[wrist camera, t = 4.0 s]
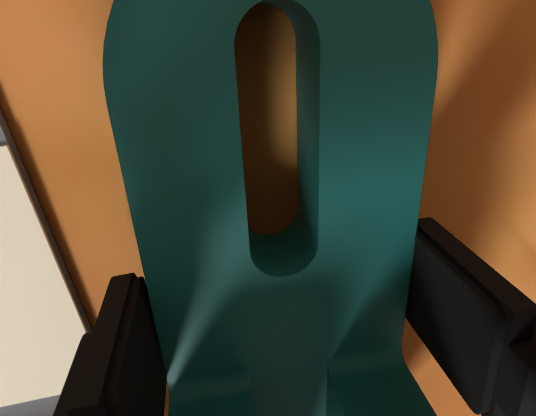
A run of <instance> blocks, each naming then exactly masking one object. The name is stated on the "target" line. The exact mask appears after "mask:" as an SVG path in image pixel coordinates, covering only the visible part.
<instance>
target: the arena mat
mask: <svg viewBox="0 0 536 416" xmlns="http://www.w3.org/2000/svg"><path fill="white" fill-rule="evenodd" d="M87 332H92V329H91V326H90V324H89V322H88V319H87V317H86V314H85V312H84V310H83V307H82V305H81V302H80V300H79V297H78V295H77V293H76V290H75V288H74V285H73V283H72V281H71V278H70V276H69V273H68V271H67V268H66V266H65V264H64V261H63V259H62V256H61V254H60V252H59V249H58V247H57V244H56V242H55V239H54V237H53V235H52V232H51V230H50V227H49V225H48V223H47V220H46V218H45V215H44V213H43V210H42V208H41V206H40V203H39V201H38V198H37V196H36V194H35V191H34V189H33V186H32V184H31V182H30V179H29V177H28V174H27V172H26V169H25V167H24V165H23V162H22V160H21V157H20V155H19V153H18V150H17V148H16V145H15V143H14V140H13V138H12V136H11V133H10V131H9V128H8V126H7V124H6V121H5V119H4V116H3V114H2V111H1V109H0V416H53V414H54V411H55V408H56V405H57V403H58V400H59V397H60V394H61V392H62V389H63V386H64V384H65V381H66V378H67V375H68V373H69V370H70V367H71V364H72V362H73V359H74V356H75V354H76V351H77V348H78V345H79V343H80V340H81V338H82V336H83V335H84V334H85V333H87Z"/></svg>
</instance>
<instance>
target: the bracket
mask: <svg viewBox="0 0 536 416" xmlns="http://www.w3.org/2000/svg"><path fill="white" fill-rule="evenodd" d="M258 3H264V4H270V5H273V6H275V7H277V8H279V9H280V10H281V11H283V12H284V13H285V14H286V16H287V17H288V18H289V20H290V21H291V23H292V25H293V28H294V32H295V38H296V97H297V166H298V212H297V216H296V218H295V220H294V221H293V223H292V224H291V225H290V226H289V227H288V228H287V229H286V230H284V231H282V232H280V233H278V234H274V235H261V234H257V233H255V232H253V231H251V230H250V229H249V228H248V221H247V208H246V195H245V183H244V170H243V157H242V144H241V131H240V118H239V105H238V92H237V79H236V66H235V53H234V39H235V34H236V30H237V27H238V25H239V23H240V21H241V19H242V18H243V16H244V15H245V13H246V12H247V11H248V10H249V9H250V8H251V7H253V6H254V5H255V4H258ZM437 69H438V41H437V32H436V24H435V20H434V15H433V10H432V6H431V3H430V0H114V1H113V5H112V8H111V12H110V15H109V19H108V22H107V28H106V34H105V40H104V49H103V81H104V90H105V96H106V102H107V107H108V112H109V117H110V121H111V126H112V130H113V135H114V139H115V144H116V148H117V153H118V158H119V162H120V167H121V171H122V176H123V180H124V185H125V189H126V194H127V199H128V203H129V208H130V212H131V217H132V221H133V226H134V231H135V235H136V240H137V244H138V249H139V253H140V258H141V262H142V267H143V272H144V276H145V281H146V285H147V290H148V294H149V299H150V304H151V308H152V313H153V317H154V322H155V326H156V331H157V335H158V340H159V345H160V349H161V354H162V358H163V363H164V367H165V370H166V373H167V381H168V387H169V414H168V416H437V415H436V413H435V412H434V410H433V408H432V407H431V405H430V404H429V402H428V400H427V399H426V397H425V395H424V394H423V392H422V390H421V389H420V387H419V385H418V384H417V382H416V381H415V379H414V377H413V376H412V374H411V372H410V371H409V369H408V367H407V366H406V364H405V361H404V359H403V355H402V350H401V344H402V336H403V329H404V321H405V314H406V306H407V299H408V291H409V284H410V276H411V269H412V261H413V254H414V246H415V235H416V231H417V223H418V216H419V208H420V201H421V193H422V186H423V178H424V171H425V163H426V156H427V148H428V141H429V133H430V126H431V118H432V111H433V103H434V95H435V88H436V80H437Z"/></svg>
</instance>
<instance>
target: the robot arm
mask: <svg viewBox="0 0 536 416" xmlns="http://www.w3.org/2000/svg"><path fill="white" fill-rule="evenodd" d="M405 317H406V319H407V320H408V322H409V323H410V324H411V326H412V327H413V329H414V330H415V331H416V333H417V334H418V336H419V337H420V338H421V340H422V341H423V343H424V344H425V345H426V347H427V348H428V350H429V351H430V353H431V354H432V355H433V357H434V358H435V360H436V361H437V362H438V364H439V365H440V367H441V368H442V369H443V371H444V372H445V374H446V375H447V377H448V378H449V379H450V381H451V382H452V384H453V385H454V386H455V388H456V389H457V391H458V392H459V393H460V395H461V396H462V398H463V399H464V400H465V402H466V403H467V405H468V406H469V408H470V409H471V410H472V411H473V412H474V413H475V414H477V415H478V414H481V415H482V416H536V304H535V303H534V302H533V301H532V300H530V299H529V298H528V297H527V296H525V295H524V294H523V293H522V292H521V291H519V290H518V289H517V288H516V287H515V286H513V285H512V284H511V283H510V282H509V281H507V280H506V279H505V278H504V277H503V276H501V275H500V274H499V273H498V272H497V271H495V270H494V269H493V268H492V267H490V266H489V265H488V264H487V263H486V262H484V261H483V260H482V259H481V258H480V257H478V256H477V255H476V254H475V253H474V252H472V251H471V250H470V249H469V248H468V247H466V246H465V245H464V244H463V243H462V242H460V241H459V240H458V239H457V238H455V237H454V236H453V235H452V234H451V233H449V232H448V231H447V230H446V229H445V228H443V227H442V226H441V225H440V224H439V223H437V222H436V221H435V220H434V219H432V218H431V217H430V218H423V219H418V223H417V231H416V235H415V246H414V254H413V261H412V269H411V276H410V284H409V291H408V299H407V306H406V314H405ZM166 384H167V373H166V370H165V367H164V363H163V358H162V354H161V349H160V345H159V340H158V335H157V331H156V326H155V322H154V317H153V313H152V308H151V304H150V299H149V294H148V290H147V285H146V282H145V279H144V278H143V277H137V276H136V275H135V273H129V274H124V275H119V276H113V277H111V279H110V282H109V285H108V288H107V291H106V294H105V297H104V300H103V303H102V306H101V309H100V312H99V315H98V318H97V321H96V324H95V327H94V330H93V331H92V332H87V333H85V334H84V335H83V336H82V338H81V340H80V343H79V345H78V348H77V351H76V354H75V356H74V359H73V362H72V364H71V367H70V370H69V373H68V375H67V378H66V381H65V384H64V386H63V389H62V392H61V394H60V397H59V400H58V403H57V405H56V408H55V411H54V414H53V416H164V408H165V396H166Z"/></svg>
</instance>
